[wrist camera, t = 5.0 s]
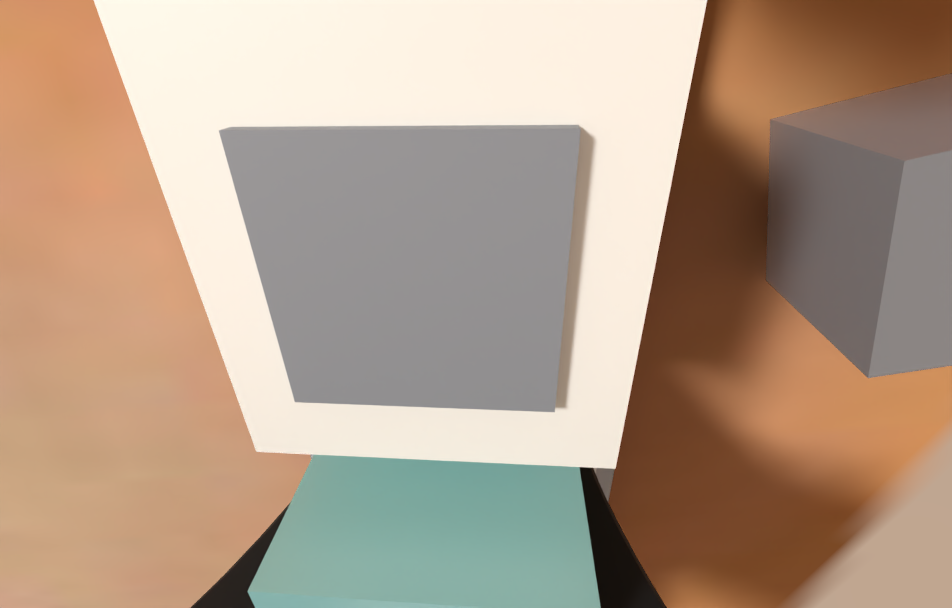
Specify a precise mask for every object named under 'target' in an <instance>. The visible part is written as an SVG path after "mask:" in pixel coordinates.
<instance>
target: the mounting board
mask: <svg viewBox="0 0 952 608" xmlns="http://www.w3.org/2000/svg"><path fill="white" fill-rule="evenodd" d="M94 2H95V5H96V8H97V11H98V14H99V16H100V19H101V22H102V25H103V27H104V30H105V33H106V36H107V39H108V41H109V44H110V47H111V50H112V52H113V55H114V58H115V61H116V63H117V66H118V69H119V72H120V75H121V77H122V80H123V83H124V86H125V88H126V91H127V94H128V97H129V100H130V102H131V105H132V108H133V111H134V113H135V116H136V119H137V122H138V124H139V127H140V130H141V133H142V136H143V138H144V141H145V144H146V147H147V149H148V152H149V155H150V158H151V160H152V163H153V166H154V169H155V172H156V174H157V177H158V180H159V183H160V185H161V188H162V191H163V194H164V197H165V199H166V202H167V205H168V208H169V210H170V213H171V216H172V219H173V221H174V224H175V227H176V230H177V233H178V235H179V238H180V241H181V244H182V246H183V249H184V252H185V255H186V258H187V260H188V263H189V266H190V269H191V271H192V274H193V277H194V280H195V282H196V285H197V288H198V291H199V294H200V296H201V299H202V302H203V305H204V307H205V310H206V313H207V316H208V319H209V321H210V324H211V327H212V330H213V332H214V335H215V338H216V341H217V343H218V346H219V349H220V352H221V355H222V357H223V360H224V363H225V366H226V368H227V371H228V374H229V377H230V380H231V382H232V385H233V388H234V391H235V393H236V396H237V399H238V402H239V404H240V407H241V410H242V413H243V416H244V418H245V421H246V424H247V427H248V429H249V432H250V435H251V438H252V440H253V443H254V446H255V449H256V452H271V453H292V454H310V455H311V459H312V458H313V456H314V455H335V456H356V457H377V458H398V459H419V460H441V461H462V462H483V463H504V464H525V465H547V466H568V467H589V468H594V471H595V473H596V476H597V478H598V481H599V483H600V485H601V488H602V490H603V492H604V494H605V497H606V499H607V501H609V496H610V490H611V485H612V480H613V475H614V470H615V469H616V464H617V459H618V454H619V449H620V443H621V438H622V433H623V428H624V423H625V418H626V413H627V408H628V403H629V397H630V392H631V387H632V382H633V377H634V372H635V367H636V362H637V357H638V351H639V346H640V341H641V336H642V331H643V326H644V321H645V316H646V311H647V305H648V300H649V295H650V290H651V285H652V280H653V275H654V270H655V264H656V259H657V254H658V249H659V244H660V239H661V234H662V229H663V224H664V218H665V213H666V208H667V203H668V198H669V193H670V188H671V183H672V178H673V172H674V167H675V162H676V157H677V152H678V147H679V142H680V137H681V132H682V126H683V121H684V116H685V111H686V106H687V101H688V96H689V91H690V86H691V80H692V75H693V70H694V65H695V60H696V55H697V50H698V45H699V40H700V34H701V29H702V24H703V19H704V14H705V9H706V4H707V0H94Z"/></svg>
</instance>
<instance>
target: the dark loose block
mask: <svg viewBox="0 0 952 608" xmlns="http://www.w3.org/2000/svg"><path fill="white" fill-rule="evenodd" d="M766 281H767V282H768V283H769V284H770V285H771V286H772V287H773V288H774V289H775V290H776V291H778V292H779V293H780V294H781V295H782V296H783V297H784V298H785V299H786V300H787V301H788V302H789V303H790V304H791V305H792V306H793V307H794V308H795V309H796V310H797V311H798V312H800V313H801V314H802V315H803V316H804V317H805V318H806V319H807V320H808V321H809V322H810V323H811V324H812V325H813V326H814V327H815V328H816V329H817V330H818V331H819V332H820V333H822V334H823V335H824V336H825V337H826V338H827V339H828V340H829V341H830V342H831V343H832V344H833V345H834V346H835V347H836V348H837V349H838V350H839V351H840V352H841V353H842V354H844V355H845V356H846V357H847V358H848V359H849V360H850V361H851V362H852V363H853V364H854V365H855V366H856V367H857V368H858V369H859V370H860V371H861V372H862V373H863V374H864V375H865V376H867V377H868V378H871V377H878V376H885V375H891V374H898V373H905V372H912V371H918V370H925V369H932V368H938V367H945V366H952V73H950V74H946V75H943V76H939V77H935V78H931V79H927V80H923V81H919V82H915V83H911V84H907V85H903V86H899V87H895V88H891V89H888V90H884V91H880V92H876V93H872V94H868V95H864V96H860V97H856V98H852V99H848V100H844V101H840V102H836V103H832V104H829V105H825V106H821V107H817V108H813V109H809V110H805V111H801V112H797V113H793V114H789V115H785V116H781V117H777V118H773V119H770V151H769V186H768V221H767V256H766Z"/></svg>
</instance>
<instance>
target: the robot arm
mask: <svg viewBox="0 0 952 608" xmlns="http://www.w3.org/2000/svg"><path fill="white" fill-rule="evenodd" d="M579 468H580V474H581V481H582V488H583V494H584V501H585V507H586V514H587V521H588V527H589V534H590V540H591V547H592V554H593V560H594V567H595V573H596V580H597V587H598V593H599V600H600V606H601V608H667V607H666V606H665V604H664V603H663V601H662V599H661V598H660V596H659V594H658V593H657V591H656V590H655V588H654V586H653V585H652V583H651V581H650V580H649V578H648V576H647V574H646V573H645V571H644V569H643V568H642V566H641V564H640V562H639V561H638V559H637V557H636V555H635V553H634V551H633V550H632V548H631V546H630V544H629V542H628V540H627V539H626V537H625V535H624V533H623V531H622V529H621V527H620V525H619V523H618V521H617V519H616V517H615V515H614V513H613V511H612V509H611V507H610V505H609V503H608V501H607V499H606V497H605V494H604V492H603V490H602V488H601V485H600V483H599V481H598V478H597V476H596V473H595V471H594V468H589V467H579ZM290 503H291V502H290ZM289 505H290V504H289ZM289 505H288V506H287V507H286V508H285V509H284V510H283V512H282V513H281V514H280V515H279V516H278V517H277V518H276V520H275V521H274V522H273V523H272V524H271V525H270V527H269V528H268V529H267V530H266V531H265V532H264V533H263V534H262V535H261V537H260V538H259V539H258V540H257V541H256V542H255V543H254V544H253V545H252V546H251V547H250V548H249V549H248V550H247V551H246V553H245V554H244V555H243V556H242V557H241V558H240V559H239V560H238V561H237V562H236V563H235V564H234V565H233V566H232V567H231V568H230V569H229V570H228V572H227V573H226V574H225V575H224V576H223V577H222V578H221V579H220V580H219V581H218V582H217V583H216V584H215V585H214V586H213V587H212V588H211V589H209V590H208V591H207V592H206V593H205V594H204V595H203V596H202V597H201V598H200V599H199V600H198V601H197V602H196V603H195V604H194V605H193V606H192V607H191V608H255V606H254V604H253V602H252V600H251V598H250V596H249V594H248V592H247V591H248V589H249V587H250V585H251V583H252V581H253V579H254V577H255V575H256V573H257V571H258V569H259V567H260V565H261V562H262V560H263V558H264V556H265V554H266V552H267V550H268V548H269V546H270V544H271V542H272V540H273V538H274V536H275V534H276V532H277V530H278V528H279V525H280V523H281V521H282V519H283V517H284V515H285V513H286V511H287V509H288V507H289Z"/></svg>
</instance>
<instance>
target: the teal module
mask: <svg viewBox="0 0 952 608" xmlns="http://www.w3.org/2000/svg"><path fill="white" fill-rule="evenodd" d="M247 592H248V594H249V596H250V598H251V600H252V602H253V604H254V606H255V608H601V606H600V600H599V593H598V587H597V580H596V573H595V567H594V560H593V554H592V547H591V540H590V534H589V527H588V521H587V514H586V507H585V501H584V494H583V488H582V481H581V474H580V468H579V467H568V466H547V465H525V464H504V463H483V462H462V461H441V460H419V459H398V458H377V457H356V456H335V455H314V456H313V458H312V460H311V462H310V464H309V466H308V468H307V470H306V472H305V474H304V476H303V478H302V480H301V482H300V484H299V486H298V489H297V491H296V493H295V495H294V497H293V499H292V501H291V503H290V505H289V507H288V509H287V511H286V513H285V515H284V517H283V519H282V521H281V523H280V525H279V528H278V530H277V532H276V534H275V536H274V538H273V540H272V542H271V544H270V546H269V548H268V550H267V552H266V554H265V556H264V558H263V560H262V562H261V565H260V567H259V569H258V571H257V573H256V575H255V577H254V579H253V581H252V583H251V585H250V587H249V589H248V591H247Z"/></svg>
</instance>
